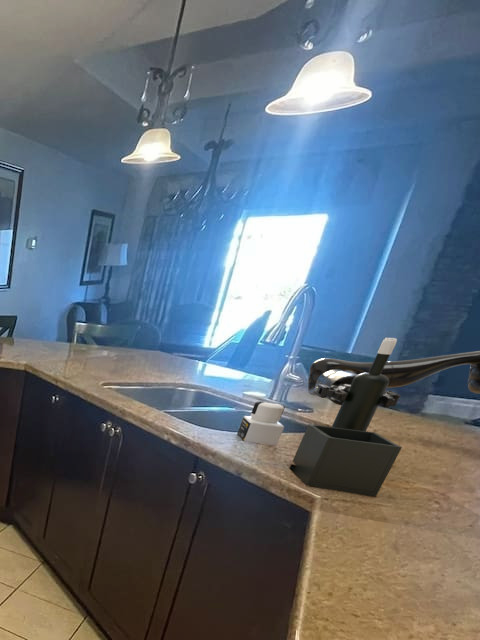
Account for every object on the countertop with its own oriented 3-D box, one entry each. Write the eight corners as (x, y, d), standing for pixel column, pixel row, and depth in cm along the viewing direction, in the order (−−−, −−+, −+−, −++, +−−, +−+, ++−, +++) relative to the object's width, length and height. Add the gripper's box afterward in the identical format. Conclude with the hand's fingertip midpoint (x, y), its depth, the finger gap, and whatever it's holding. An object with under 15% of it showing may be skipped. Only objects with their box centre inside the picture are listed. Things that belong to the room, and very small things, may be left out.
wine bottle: (328, 460, 122) (386, 336, 110) (354, 468, 117) (417, 340, 105) (309, 460, 121) (365, 336, 109) (334, 469, 116) (396, 339, 104)
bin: (351, 478, 111) (374, 432, 107) (375, 497, 101) (402, 447, 97) (289, 468, 115) (308, 424, 111) (306, 485, 106) (328, 437, 101)
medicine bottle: (234, 440, 134) (250, 397, 130) (266, 445, 132) (283, 401, 127) (240, 447, 129) (257, 403, 124) (274, 452, 126) (292, 407, 121)
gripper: (313, 369, 125) (331, 379, 112) (389, 376, 119) (419, 388, 106) (301, 397, 128) (317, 411, 115) (375, 406, 122) (401, 422, 109)
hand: (366, 400), depth 111 cm, fingers open, 7 cm apart
